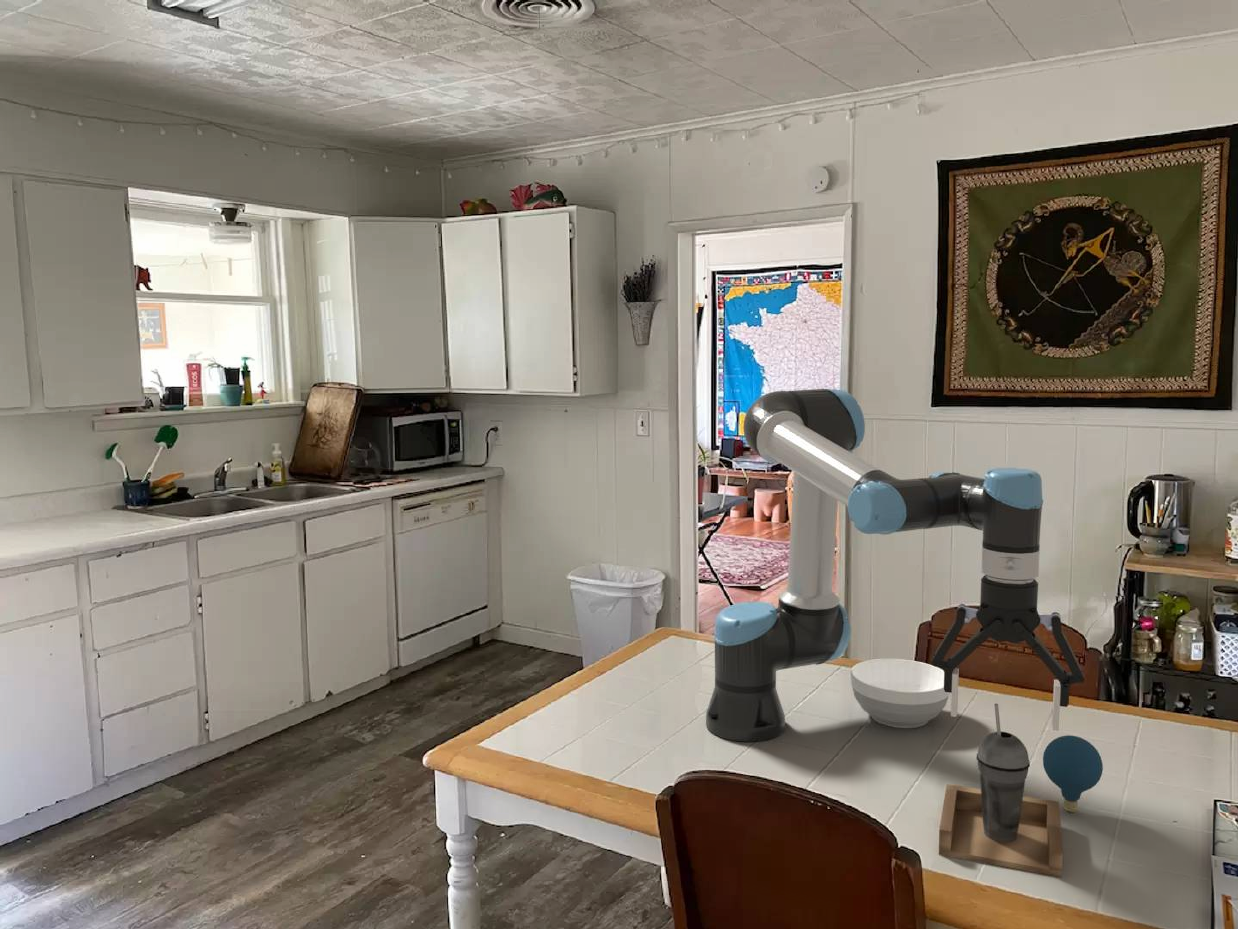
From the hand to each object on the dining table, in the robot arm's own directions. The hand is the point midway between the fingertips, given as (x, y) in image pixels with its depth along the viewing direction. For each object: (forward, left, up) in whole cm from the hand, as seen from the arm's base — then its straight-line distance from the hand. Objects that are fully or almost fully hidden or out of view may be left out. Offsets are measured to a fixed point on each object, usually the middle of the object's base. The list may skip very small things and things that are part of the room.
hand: (1003, 720), depth 136 cm
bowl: (-19, +42, -19) cm, 50 cm away
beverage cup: (0, 0, -18) cm, 18 cm away
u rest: (0, 0, -18) cm, 18 cm away
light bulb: (+10, +13, -19) cm, 25 cm away
